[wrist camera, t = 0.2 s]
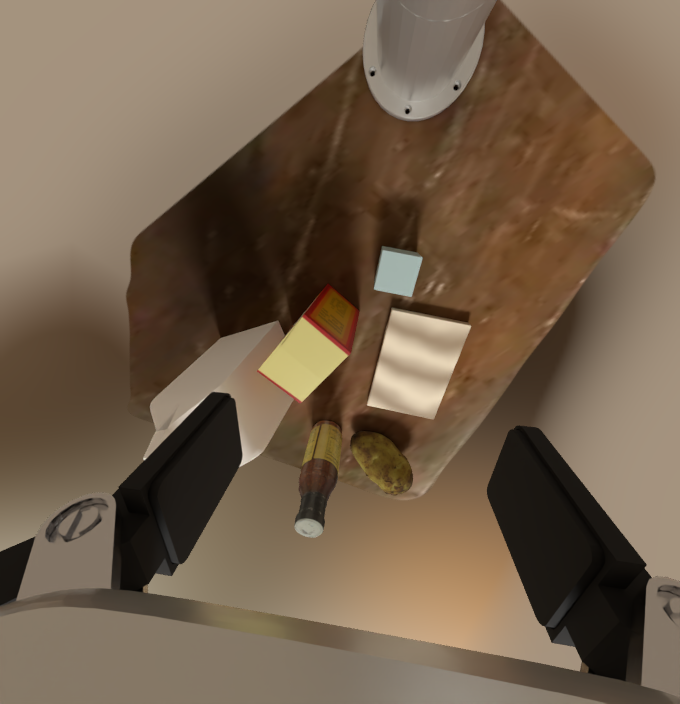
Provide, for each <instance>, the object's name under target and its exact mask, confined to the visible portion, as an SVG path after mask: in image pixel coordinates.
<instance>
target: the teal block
mask: <svg viewBox="0 0 680 704" xmlns="http://www.w3.org/2000/svg"><path fill="white" fill-rule="evenodd" d="M422 258H423V257H421V256H420V255H419V254H418V253H417V252H412V251H406V250H401V249H396V248H391V247H385V246H382V248H381V253H380V258H379V262H378V267H377V271H376V276H375V280H374V290H379V291H384V292H389V293H394V294H399V295H404V296H409V297H412V293H413V290H414V286H415V283H416V279H417V276H418V272H419V269H420V265H421V262H422Z"/></svg>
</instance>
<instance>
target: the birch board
mask: <svg viewBox="0 0 680 704" xmlns="http://www.w3.org/2000/svg"><path fill="white" fill-rule="evenodd" d="M470 328H471V325H470V324H469V323H468V322H463V321H458V320H453V319H448V318H443V317H438V316H433V315H428V314H423V313H418V312H413V311H407V310H402V309H397V308H391V312H390V315H389V319H388V323H387V327H386V331H385V335H384V339H383V343H382V346H381V350H380V354H379V358H378V362H377V366H376V370H375V374H374V377H373V381H372V385H371V389H370V393H369V397H368V402H367V405H368V406H373V407H377V408H382V409H387V410H392V411H396V412H401V413H406V414H410V415H415V416H420V417H425V418H429V419H434V417H435V415H436V412H437V410H438V407H439V405H440V402H441V400H442V397H443V395H444V392H445V390H446V387H447V385H448V382H449V380H450V377H451V375H452V372H453V370H454V367H455V365H456V363H457V360H458V358H459V355H460V353H461V350H462V348H463V345H464V343H465V340H466V338H467V335H468V333H469V330H470Z"/></svg>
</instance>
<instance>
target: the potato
mask: <svg viewBox="0 0 680 704" xmlns="http://www.w3.org/2000/svg"><path fill="white" fill-rule="evenodd" d="M350 446H351V451H352V453H353V455H354V457H355V458H356V460H357V462H358V463H359V464H360V466H361V467H362V469H363V470H364V472H365V473H366V475H367V476H368V477H369V479H370V480H371V481H373V482H375V483H377V484H378V486H379V487H380V488H381V489H382V490H383V491H384V492H385V493H387V494H391V495H397V494H401V493H404V492H406V491H408V490H409V489H410V487H411V486H412V482H413V474H412V469H411V466H410V464H409V462H408V460H407V458H406V457H405V456H404V455H403V454H402V453H401V452H400V451H399V450H398V449H397V448H396V446H395V445H394V443H393V442H392V441H391V440H390V439H388V438H387V437H385V436H384V435H382V434H379V433H376V432H371V431H359V432H357V433H356V434H354V435H353V436H352V438H351V444H350Z"/></svg>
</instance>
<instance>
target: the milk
mask: <svg viewBox="0 0 680 704" xmlns="http://www.w3.org/2000/svg"><path fill="white" fill-rule="evenodd" d="M284 336H285V335H284V332H283V330H282V328H281V326H280V323H279V321H275V322H272V323H268V324H265V325H262V326H259V327H255V328H252V329H249V330H245V331H242V332H239V333H236V334H232V335H229V336H226V337H223V338H220V339H219V340H218V341H217V342H216V343H215V344H214V345H213V346H212V347H210V348H209V349H208V350H207V351H206V352H205V353H204V354H203V355H202V356H200V357H199V358H198V359H197V360H196V361H195V362H194V363H193V364H192V365H191V366H189V367H188V368H187V369H186V370H185V371H184V372H183V373H182V374H181V375H180V376H178V377H177V378H176V379H175V380H174V381H173V382H172V383H171V384H170V385H169V386H167V387H166V388H165V389H164V390H163V391H162V392H161V393H160V394H159V395H158V396H156V397H155V398H154V400H153V401H152V402H151V404H150V411H151V414H152V418H153V421H154V424H155V428H156V430H157V431H156V432H155V434H154V436H153V438H152V440H151V442H150V444H149V447H148V449H147V451H146V453H145V455H144V458H143V459H144V460H145V459H146V458H147V457H148V456H149V455H150V454H151V453H152V452H153V451H154V450H155V449H156V448H157V447H158V446H159V445H160V444H161V443H162V442H163V441H164V440H165V439H166V438H167V437H168V436H169V435H170V434H171V433H172V432H173V431H174V430H175V429H176V428H177V427H178V426H179V425H180V424H181V423H182V422H183V421H184V420H185V418H186V417H187V416H188V415H189V414H190V413H191V412H192V411H193V410H194V409H195V408H196V407H197V406H198V405H199V404H200V403H201V402H202V401H203V400H204V399H205V398H206V397H207V396H208V395H209V394H210V393H211V392H221V393H229V394H230V395H231V398H234V399H235V402H236V409H237V416H238V424H239V431H240V439H241V446H242V454H243V457H242V462H241V464H240V466H242V465H244V464H246V463H248V462H249V461H251V460H253V459H254V458H256V457H257V456H259V455H260V454H261V453H262V452H263V451H264V449H265V448H266V446H267V445H268V443H269V441H270V439H271V438H272V436H273V434H274V432H275V431H276V429H277V427H278V426H279V424H280V422H281V420H282V419H283V417H284V415H285V413H286V412H287V410H288V408H289V406H290V405H291V403H292V401H293V398H292V397H291V396H289V395H288V394H287V393H285V392H284V391H283V390H281V389H280V388H279V387H277V386H276V385H275V384H273V383H272V382H271V381H269V380H268V379H267V378H265V377H264V376H263V375H261V374H260V373H259V372H257V370H258V369H259V368H260V367H261V365H262V364H263V363H264V362H265V360H266V359H267V358H268V357H269V355H270V354H271V353H272V352H273V350H274V349H275V348H276V347H277V345H278V344H279V343H280V341H281V340H282V339H283V338H284ZM240 466H239V467H240Z"/></svg>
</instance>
